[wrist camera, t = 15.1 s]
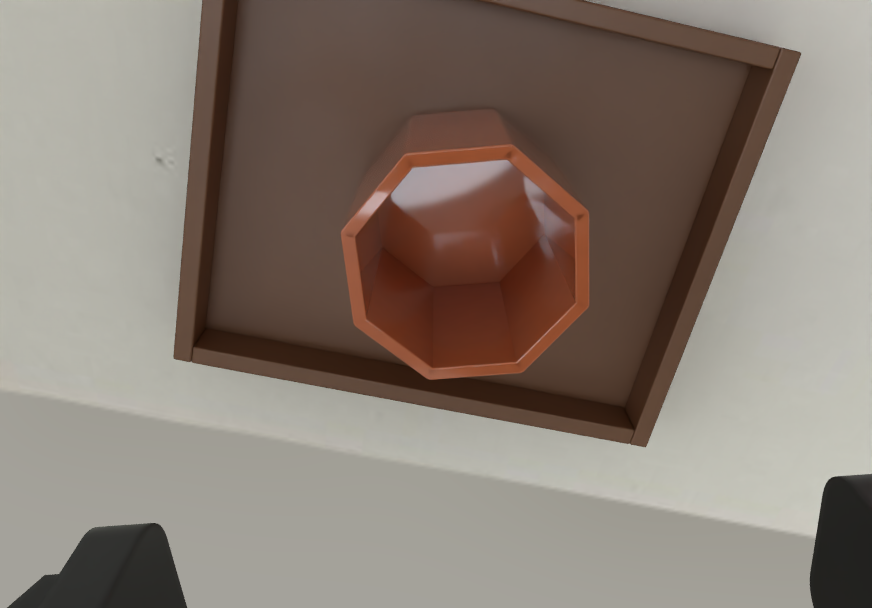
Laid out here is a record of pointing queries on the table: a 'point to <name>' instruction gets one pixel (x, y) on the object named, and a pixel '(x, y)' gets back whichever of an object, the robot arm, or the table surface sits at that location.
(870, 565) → the robot arm
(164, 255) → the table surface
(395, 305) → the small cup
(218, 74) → the tray
